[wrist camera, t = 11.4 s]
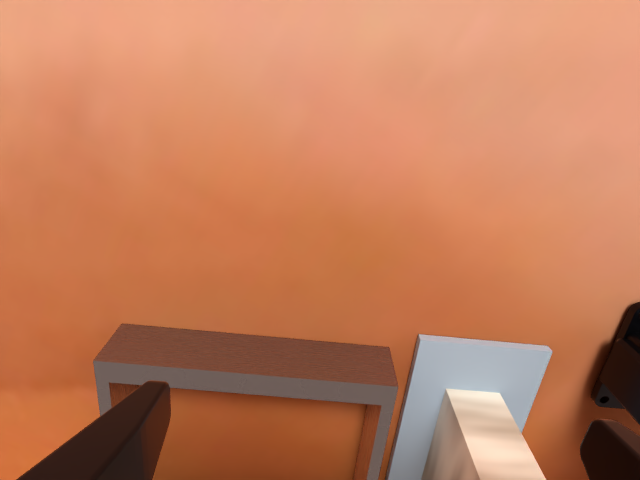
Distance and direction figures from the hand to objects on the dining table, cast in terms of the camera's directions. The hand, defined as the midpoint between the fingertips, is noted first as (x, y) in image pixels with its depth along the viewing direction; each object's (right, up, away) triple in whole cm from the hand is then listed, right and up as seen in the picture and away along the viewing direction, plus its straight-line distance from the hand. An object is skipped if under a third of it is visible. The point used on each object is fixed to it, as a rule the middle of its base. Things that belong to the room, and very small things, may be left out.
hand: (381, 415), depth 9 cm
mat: (+7, -9, +17) cm, 20 cm away
